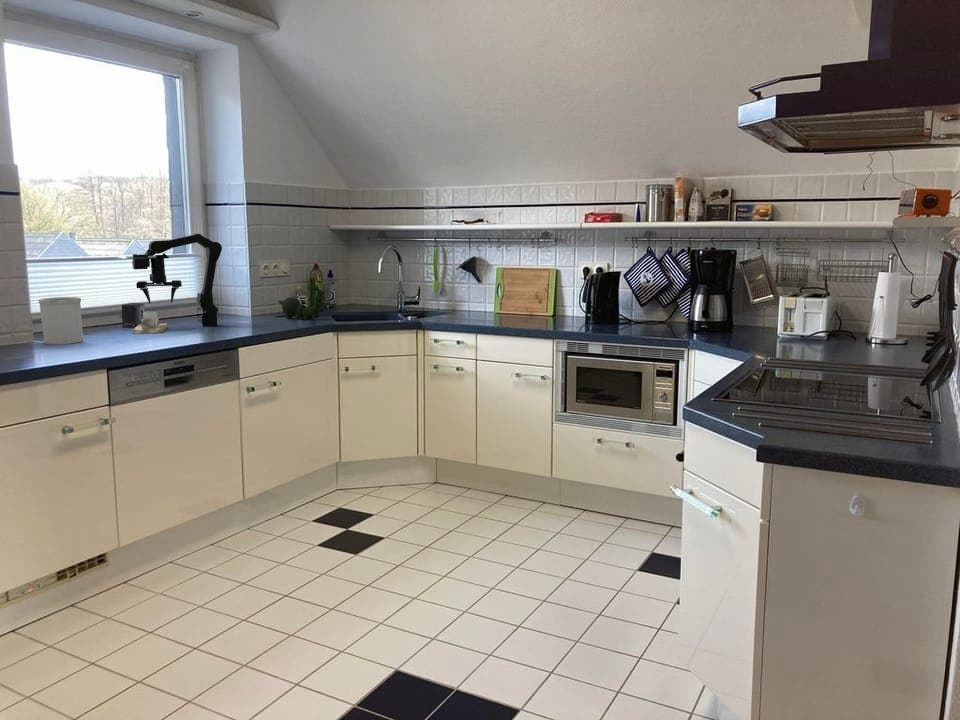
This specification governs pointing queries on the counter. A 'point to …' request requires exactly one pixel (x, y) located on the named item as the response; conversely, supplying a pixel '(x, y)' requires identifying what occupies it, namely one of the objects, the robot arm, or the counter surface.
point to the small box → (132, 314)
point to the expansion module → (150, 316)
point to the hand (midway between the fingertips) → (160, 303)
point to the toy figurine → (303, 306)
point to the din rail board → (156, 330)
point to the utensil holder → (61, 320)
